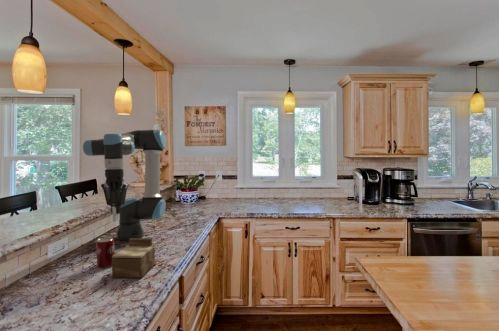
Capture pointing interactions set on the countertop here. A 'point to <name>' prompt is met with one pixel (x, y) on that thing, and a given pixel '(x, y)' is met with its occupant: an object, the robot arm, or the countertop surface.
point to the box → (133, 266)
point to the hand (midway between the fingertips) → (116, 220)
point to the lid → (135, 248)
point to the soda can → (105, 252)
